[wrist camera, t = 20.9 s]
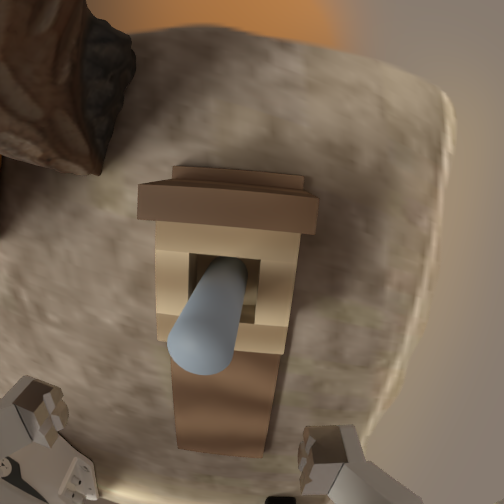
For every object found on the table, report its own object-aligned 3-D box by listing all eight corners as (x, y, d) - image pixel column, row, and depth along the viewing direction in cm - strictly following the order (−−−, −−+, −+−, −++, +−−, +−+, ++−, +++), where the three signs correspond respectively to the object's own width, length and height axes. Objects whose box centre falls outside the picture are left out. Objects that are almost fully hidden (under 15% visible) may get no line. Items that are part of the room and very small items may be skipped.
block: (280, 321, 26) (283, 354, 21) (174, 311, 26) (157, 340, 21) (293, 215, 24) (301, 227, 19) (176, 204, 24) (155, 214, 19)
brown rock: (16, 125, 23) (-147, 127, 4) (78, 15, 20) (-60, -64, 1) (97, 182, 25) (-111, 231, 5) (174, 56, 22) (30, -92, 2)
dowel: (246, 295, 23) (231, 378, 14) (206, 291, 24) (168, 370, 14) (249, 257, 23) (235, 323, 13) (207, 252, 23) (165, 314, 13)
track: (262, 452, 32) (261, 504, 24) (179, 442, 32) (165, 493, 25) (302, 176, 24) (321, 180, 16) (176, 166, 24) (139, 166, 16)
